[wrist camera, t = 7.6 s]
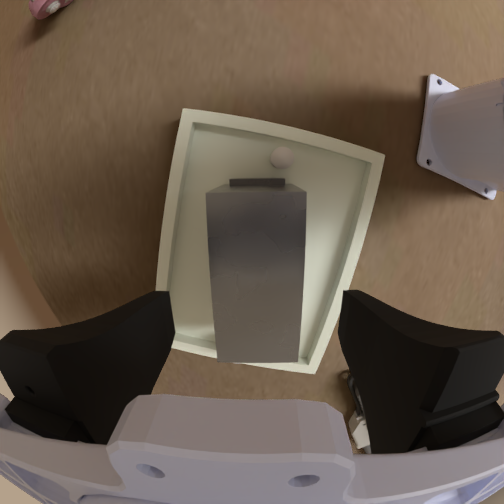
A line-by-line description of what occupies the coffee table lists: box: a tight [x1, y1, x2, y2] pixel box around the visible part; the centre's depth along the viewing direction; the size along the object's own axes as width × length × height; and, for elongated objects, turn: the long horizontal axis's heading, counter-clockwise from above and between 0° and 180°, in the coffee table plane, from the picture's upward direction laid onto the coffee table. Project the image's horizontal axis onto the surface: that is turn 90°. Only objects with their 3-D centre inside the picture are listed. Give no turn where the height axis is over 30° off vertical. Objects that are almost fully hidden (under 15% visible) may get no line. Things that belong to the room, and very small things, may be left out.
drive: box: [205, 178, 307, 363], centre depth 16 cm, size 4×9×6 cm, turn 1°
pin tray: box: [156, 108, 385, 374], centre depth 18 cm, size 13×17×4 cm
